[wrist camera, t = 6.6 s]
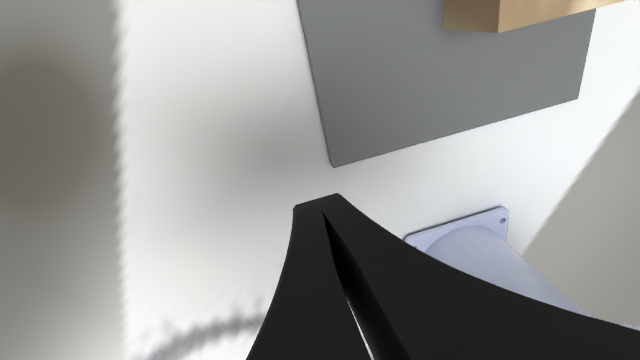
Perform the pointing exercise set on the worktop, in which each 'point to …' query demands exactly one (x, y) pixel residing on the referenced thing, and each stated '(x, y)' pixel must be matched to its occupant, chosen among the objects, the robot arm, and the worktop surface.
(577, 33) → the mat
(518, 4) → the block
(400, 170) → the worktop surface
